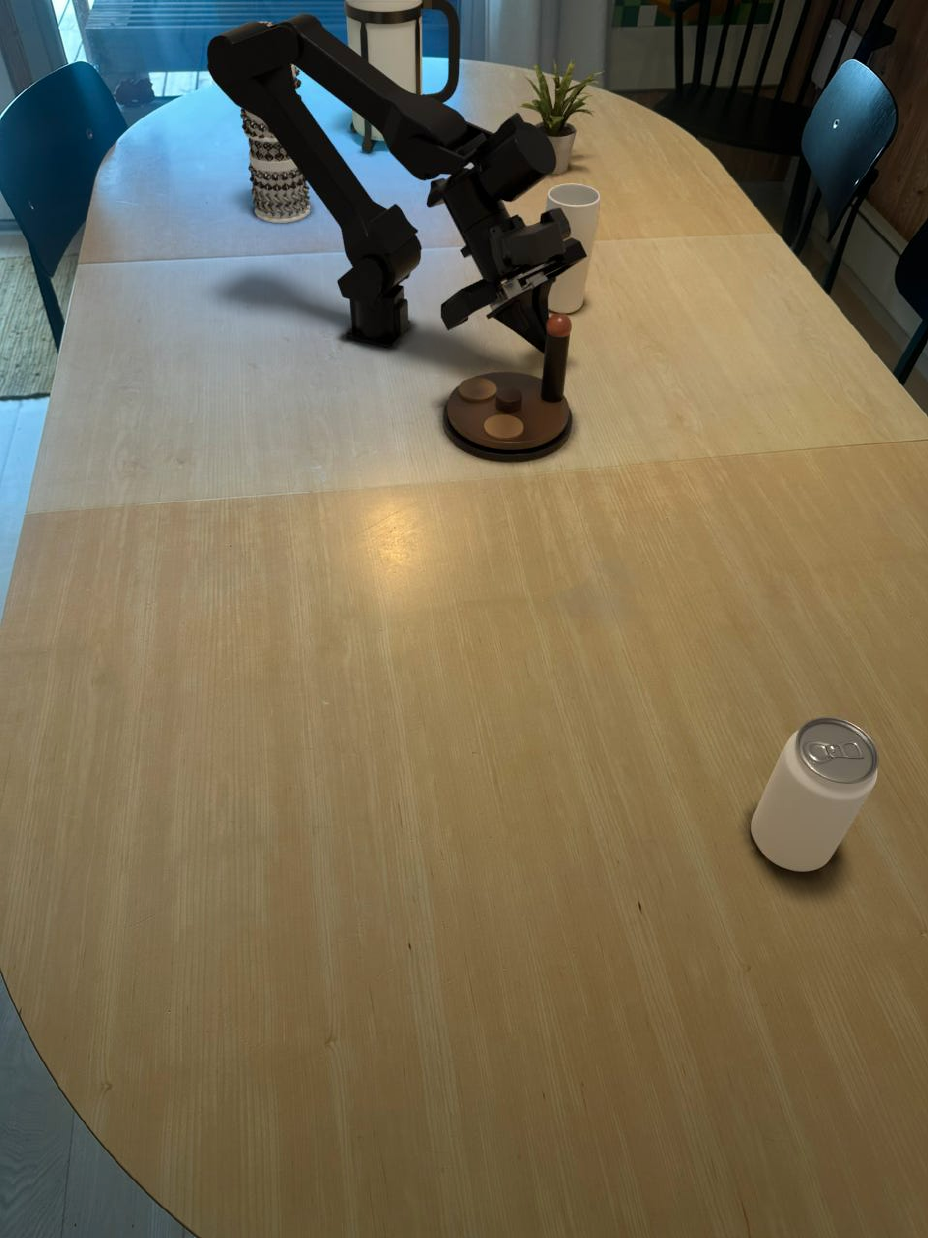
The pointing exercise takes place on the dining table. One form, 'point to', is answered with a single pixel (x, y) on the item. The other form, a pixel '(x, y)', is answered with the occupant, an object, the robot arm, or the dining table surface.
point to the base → (506, 454)
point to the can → (815, 793)
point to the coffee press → (398, 47)
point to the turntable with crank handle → (516, 399)
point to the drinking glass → (583, 222)
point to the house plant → (559, 112)
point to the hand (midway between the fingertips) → (549, 352)
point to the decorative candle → (274, 171)
